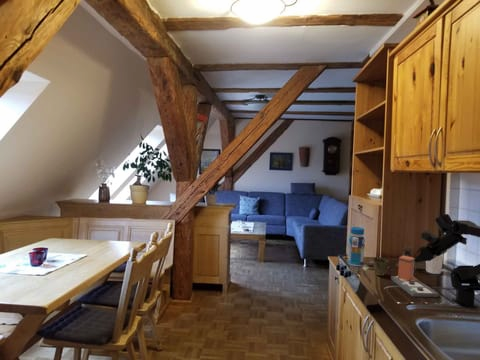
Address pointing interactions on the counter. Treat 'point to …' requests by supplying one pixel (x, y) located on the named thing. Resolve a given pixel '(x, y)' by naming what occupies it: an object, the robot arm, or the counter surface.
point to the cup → (380, 266)
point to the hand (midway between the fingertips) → (418, 259)
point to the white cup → (435, 265)
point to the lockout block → (406, 268)
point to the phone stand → (409, 256)
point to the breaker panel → (415, 287)
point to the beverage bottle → (356, 247)
